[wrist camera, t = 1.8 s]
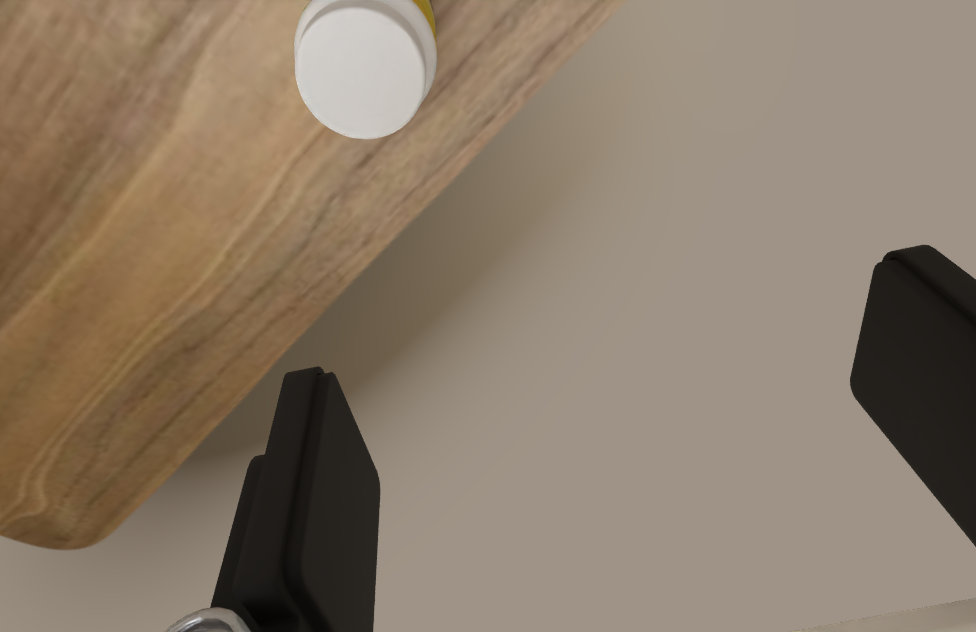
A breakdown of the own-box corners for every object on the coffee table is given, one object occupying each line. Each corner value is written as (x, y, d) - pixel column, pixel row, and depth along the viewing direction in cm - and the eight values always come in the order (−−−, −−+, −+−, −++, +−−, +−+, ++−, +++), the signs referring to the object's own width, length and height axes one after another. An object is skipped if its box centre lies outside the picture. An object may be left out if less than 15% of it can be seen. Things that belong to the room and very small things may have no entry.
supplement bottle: (417, -59, 25) (418, -26, 18) (446, 64, 28) (456, 133, 21) (298, -30, 25) (255, 14, 18) (339, 90, 28) (314, 166, 21)
